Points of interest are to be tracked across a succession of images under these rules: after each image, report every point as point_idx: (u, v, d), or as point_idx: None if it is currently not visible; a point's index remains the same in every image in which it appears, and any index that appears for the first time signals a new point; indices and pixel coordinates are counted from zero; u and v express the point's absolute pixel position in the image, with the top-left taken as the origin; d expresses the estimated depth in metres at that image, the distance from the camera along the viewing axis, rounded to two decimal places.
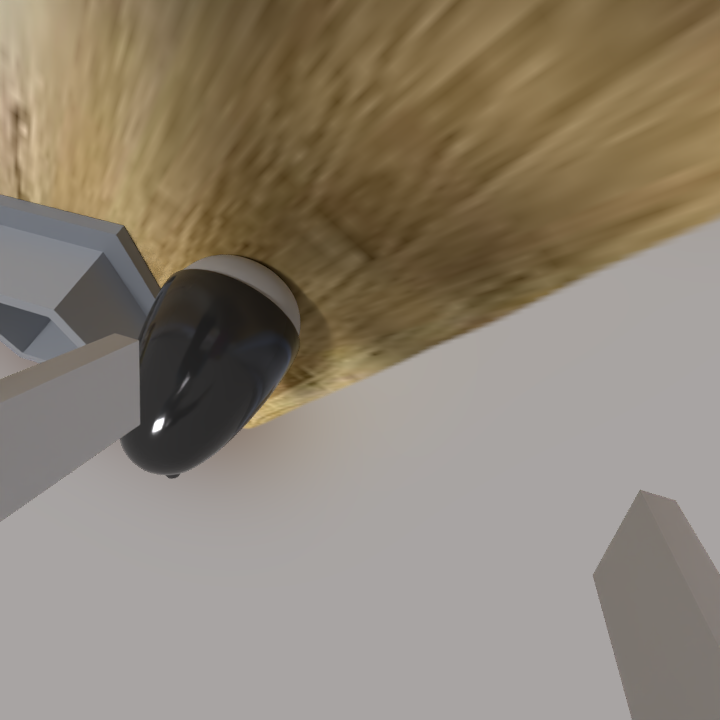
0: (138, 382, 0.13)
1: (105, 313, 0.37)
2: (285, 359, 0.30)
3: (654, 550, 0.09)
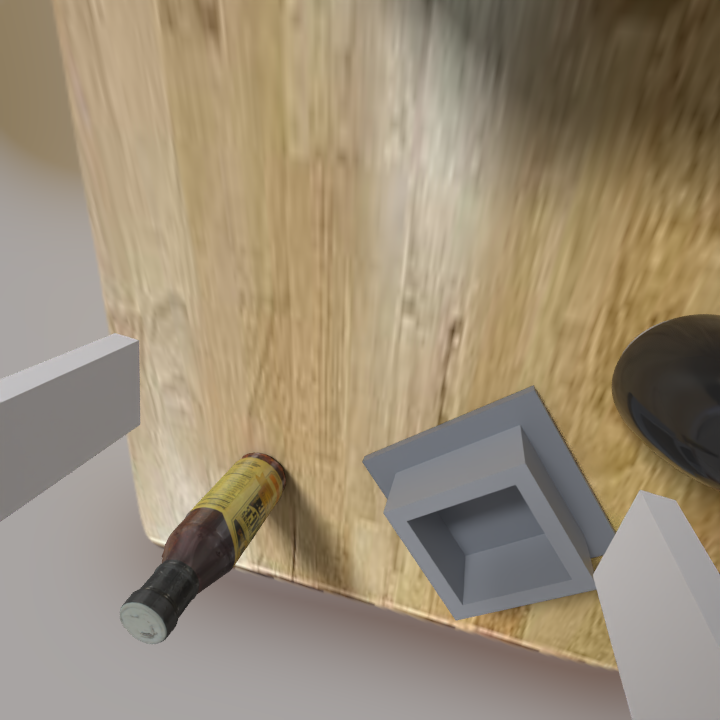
0: (138, 382, 0.13)
1: (545, 482, 0.38)
2: None
3: (654, 550, 0.09)
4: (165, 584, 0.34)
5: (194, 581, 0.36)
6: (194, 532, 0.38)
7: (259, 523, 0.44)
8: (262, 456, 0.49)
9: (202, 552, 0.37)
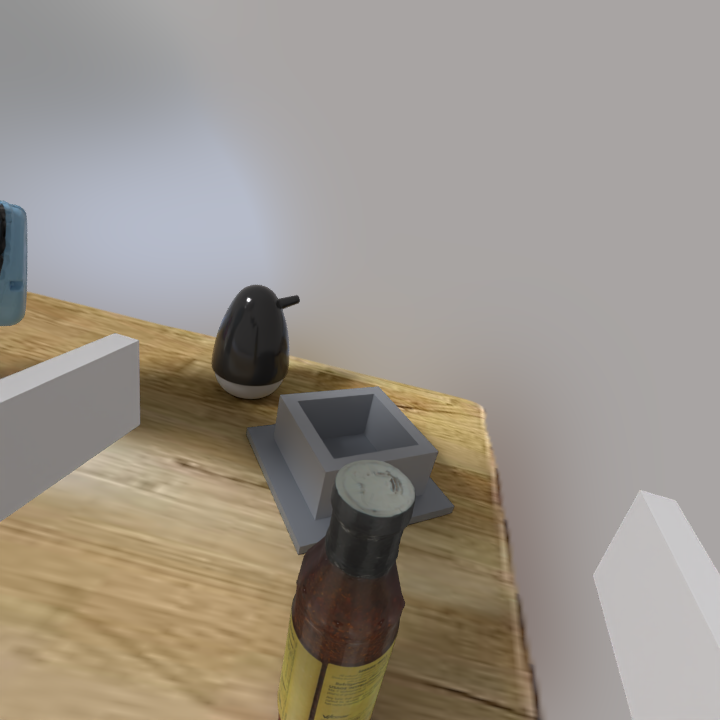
0: (137, 382, 0.13)
1: None
2: None
3: (654, 550, 0.09)
4: None
5: None
6: (303, 561, 0.25)
7: None
8: None
9: None
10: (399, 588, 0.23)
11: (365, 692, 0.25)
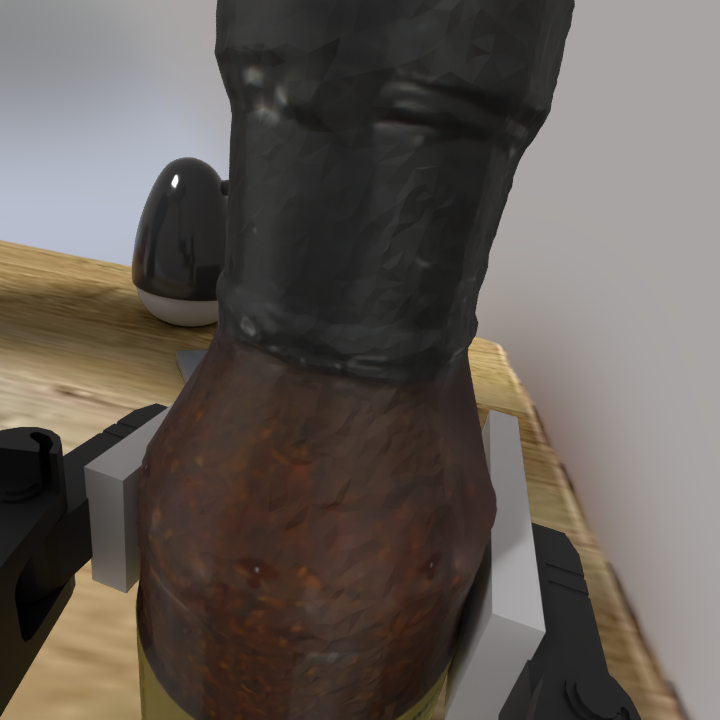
0: None
1: None
2: None
3: (485, 449, 0.11)
4: None
5: None
6: None
7: None
8: None
9: None
10: (483, 452, 0.07)
11: None
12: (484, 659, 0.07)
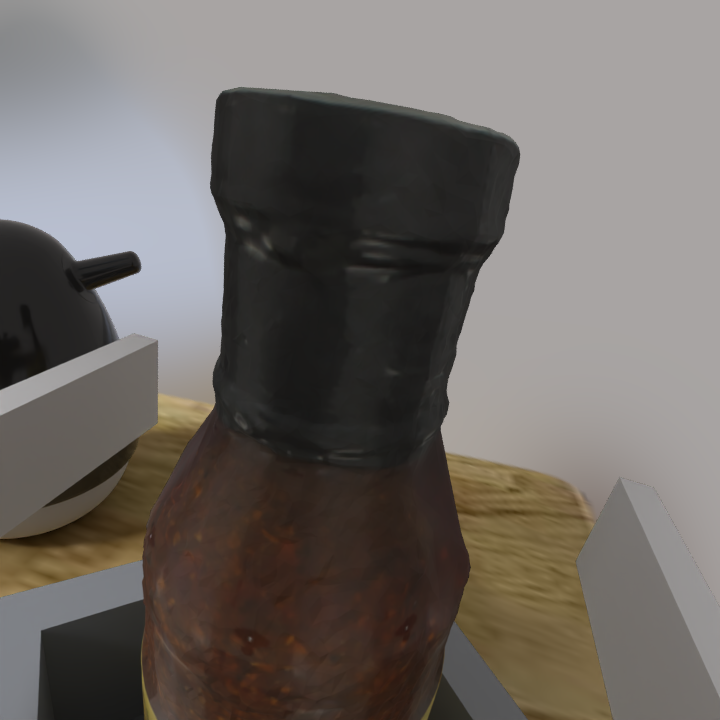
0: (156, 382, 0.13)
1: None
2: None
3: (631, 534, 0.09)
4: None
5: None
6: (173, 470, 0.09)
7: None
8: None
9: None
10: (455, 517, 0.07)
11: None
12: None
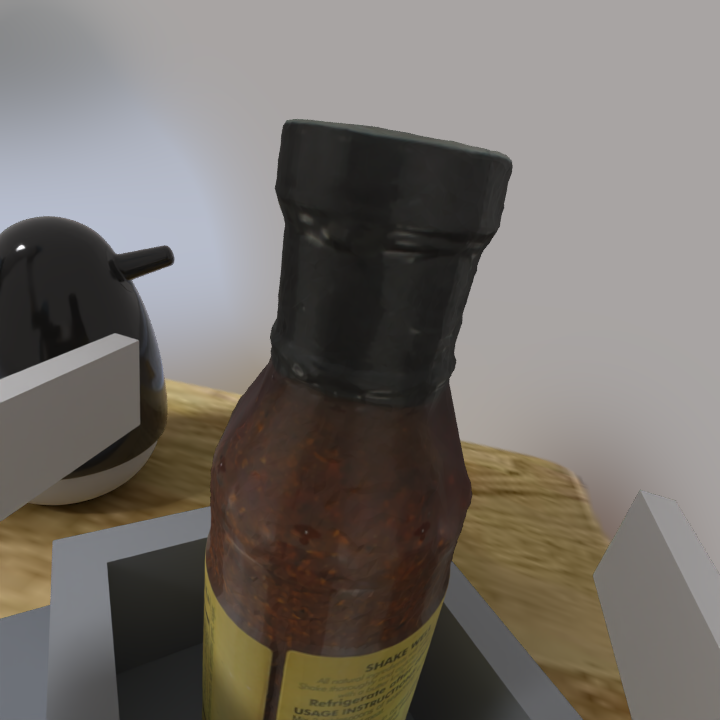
0: (138, 382, 0.13)
1: None
2: None
3: (655, 550, 0.09)
4: None
5: None
6: (229, 420, 0.11)
7: None
8: None
9: None
10: (460, 452, 0.09)
11: (381, 719, 0.11)
12: None
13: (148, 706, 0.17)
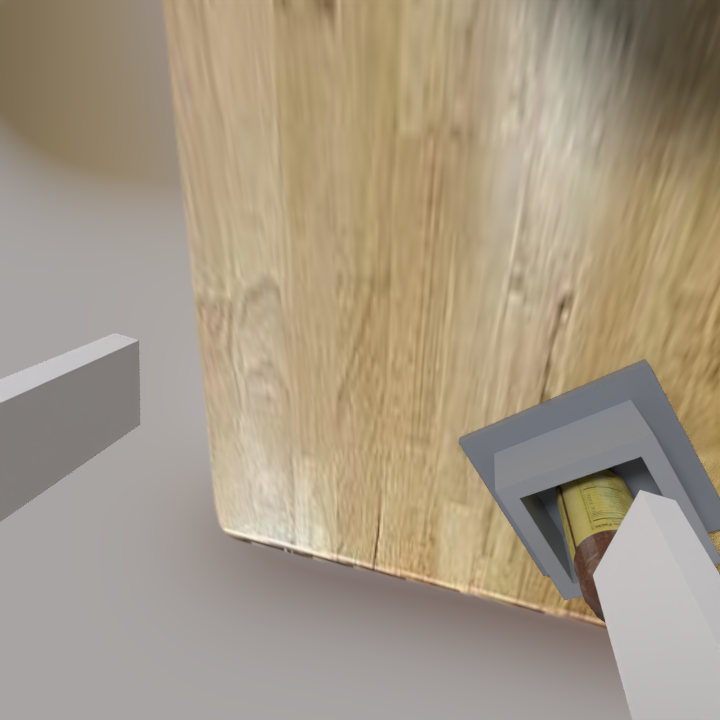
0: (137, 383, 0.13)
1: None
2: None
3: (654, 550, 0.09)
4: None
5: None
6: None
7: None
8: None
9: None
10: None
11: None
12: None
13: None
